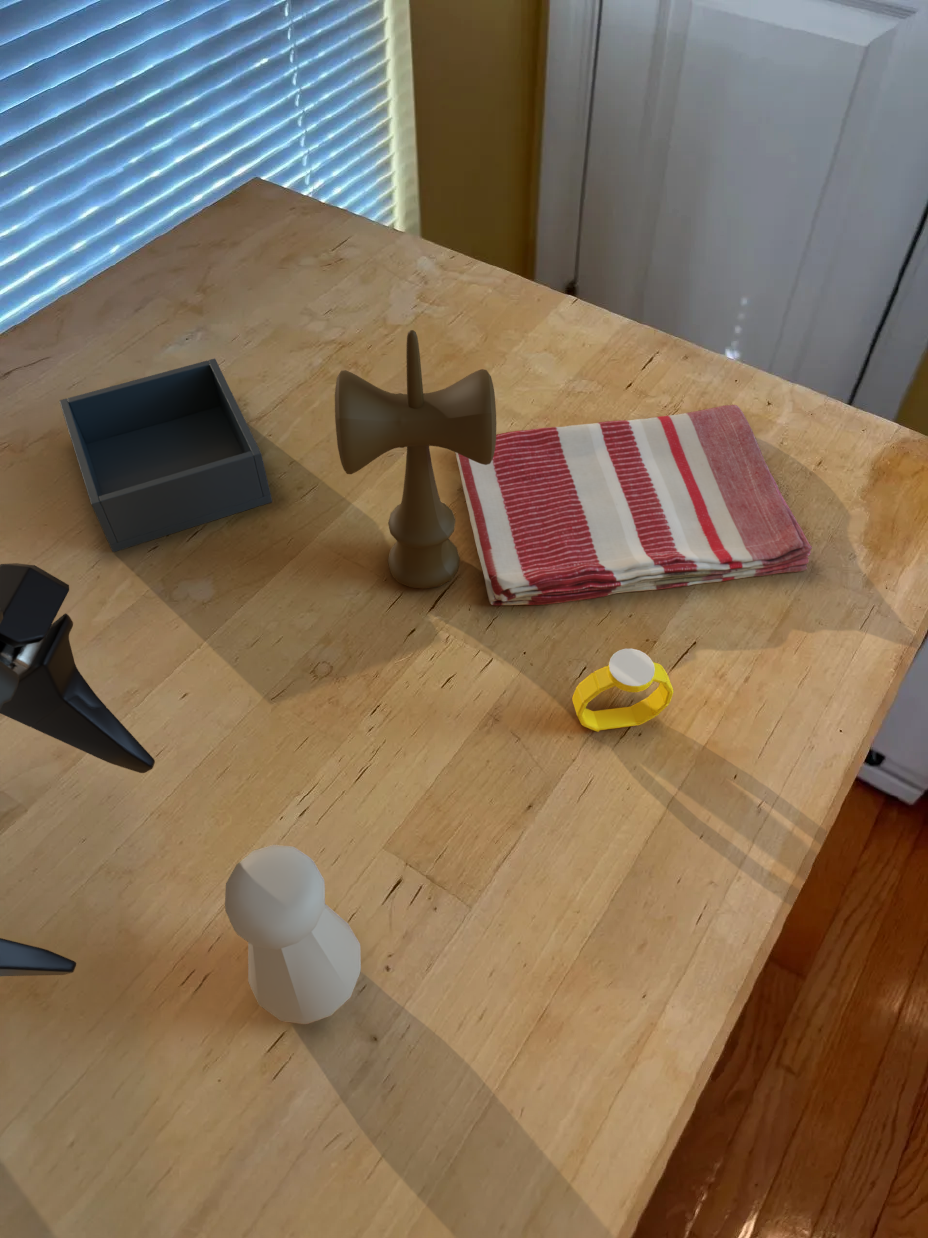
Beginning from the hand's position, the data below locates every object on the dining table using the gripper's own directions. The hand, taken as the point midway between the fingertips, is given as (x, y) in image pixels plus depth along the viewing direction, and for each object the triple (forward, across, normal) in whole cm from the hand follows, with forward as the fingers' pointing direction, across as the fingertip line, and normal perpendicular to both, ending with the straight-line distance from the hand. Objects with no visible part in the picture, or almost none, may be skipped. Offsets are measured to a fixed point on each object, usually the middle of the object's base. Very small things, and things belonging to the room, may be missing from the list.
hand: (113, 861), depth 41 cm
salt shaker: (+14, 0, +4) cm, 15 cm away
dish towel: (+25, +37, -6) cm, 45 cm away
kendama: (+15, +29, +4) cm, 33 cm away
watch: (+25, +18, -6) cm, 32 cm away
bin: (0, +36, +18) cm, 40 cm away
